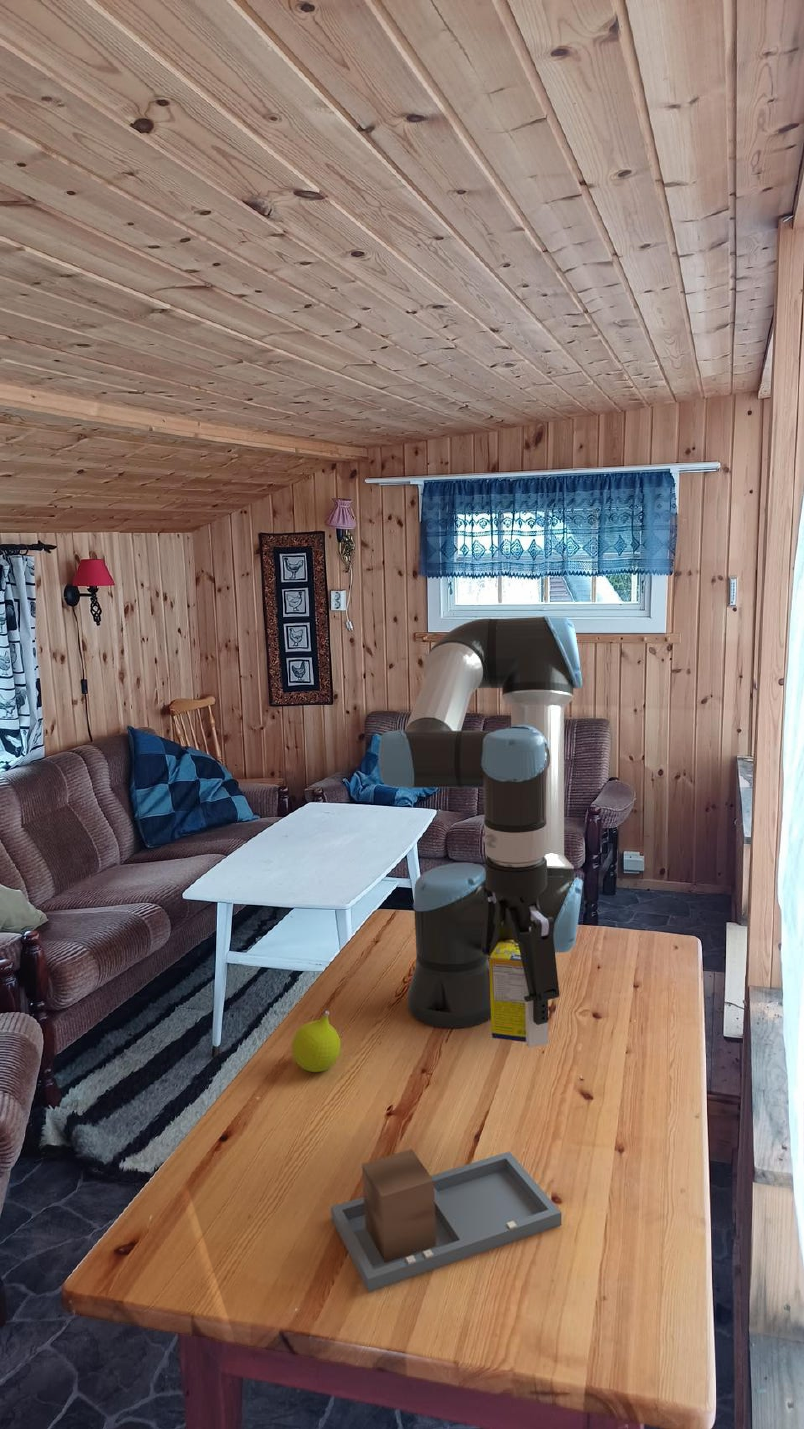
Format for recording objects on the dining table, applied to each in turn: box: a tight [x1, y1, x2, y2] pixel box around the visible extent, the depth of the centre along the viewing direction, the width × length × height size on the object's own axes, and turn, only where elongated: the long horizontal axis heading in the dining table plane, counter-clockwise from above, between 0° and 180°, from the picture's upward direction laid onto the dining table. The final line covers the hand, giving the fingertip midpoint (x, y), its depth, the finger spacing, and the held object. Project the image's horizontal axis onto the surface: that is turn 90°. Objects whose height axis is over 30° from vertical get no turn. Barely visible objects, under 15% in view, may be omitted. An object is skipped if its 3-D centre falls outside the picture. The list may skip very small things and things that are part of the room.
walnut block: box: [361, 1149, 436, 1263], centre depth 108 cm, size 6×6×8 cm
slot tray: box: [330, 1151, 562, 1293], centre depth 110 cm, size 12×23×2 cm, turn 112°
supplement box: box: [489, 940, 529, 1043], centre depth 123 cm, size 6×6×11 cm
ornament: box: [291, 1010, 342, 1073], centre depth 143 cm, size 7×7×10 cm
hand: (519, 1027), depth 124 cm, fingers closed on supplement box, 8 cm apart
